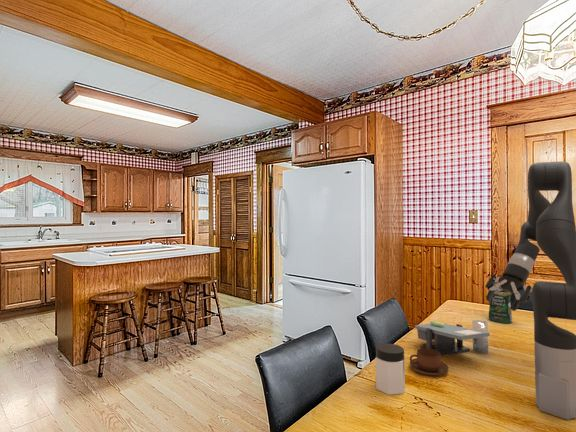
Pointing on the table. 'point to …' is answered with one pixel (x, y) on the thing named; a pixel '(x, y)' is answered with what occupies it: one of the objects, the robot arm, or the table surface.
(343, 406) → the table surface
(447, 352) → the pivot stand
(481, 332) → the platform
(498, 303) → the coffee jar
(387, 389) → the jar
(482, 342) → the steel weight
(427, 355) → the cup and saucer
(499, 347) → the table surface
